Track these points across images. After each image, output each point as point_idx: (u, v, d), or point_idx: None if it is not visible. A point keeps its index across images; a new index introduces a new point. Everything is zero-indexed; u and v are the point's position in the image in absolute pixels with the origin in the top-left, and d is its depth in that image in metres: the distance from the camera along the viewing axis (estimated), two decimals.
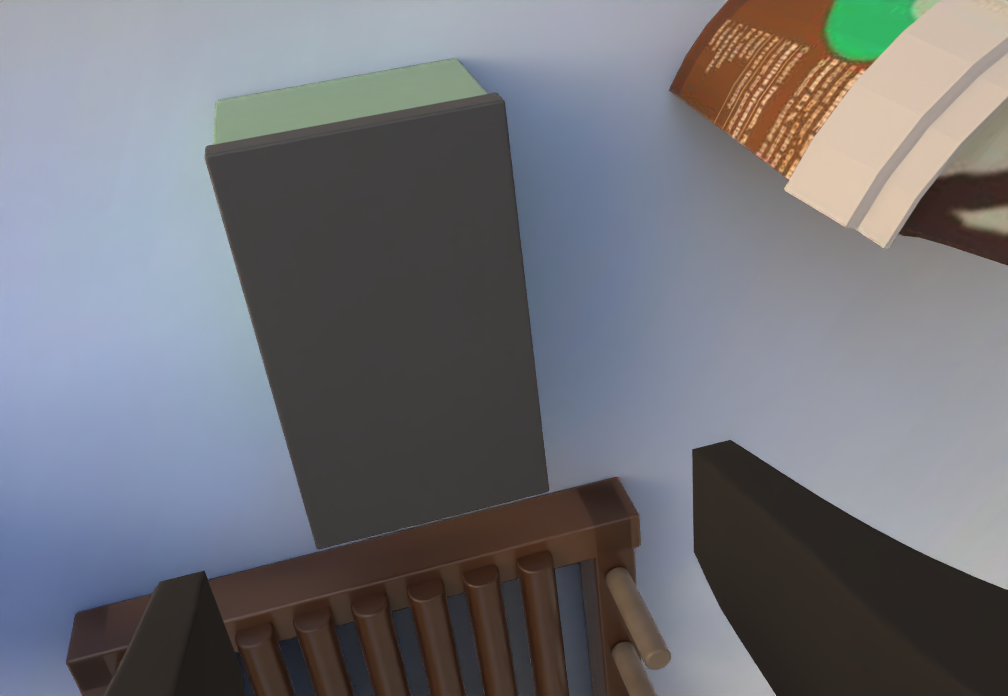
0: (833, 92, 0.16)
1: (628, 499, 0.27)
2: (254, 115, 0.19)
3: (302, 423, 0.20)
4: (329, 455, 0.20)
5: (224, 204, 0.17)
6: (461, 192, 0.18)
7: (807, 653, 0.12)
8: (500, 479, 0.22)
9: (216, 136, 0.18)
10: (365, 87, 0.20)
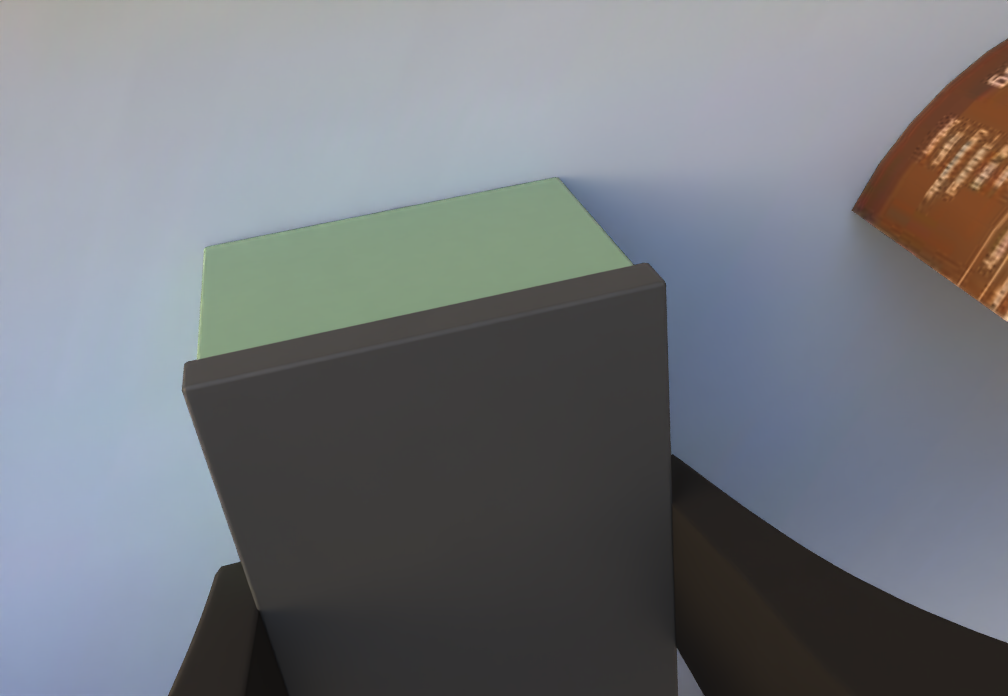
0: None
1: None
2: (263, 286, 0.12)
3: None
4: None
5: (215, 456, 0.10)
6: (590, 416, 0.11)
7: (739, 672, 0.12)
8: None
9: (203, 332, 0.11)
10: (429, 232, 0.13)
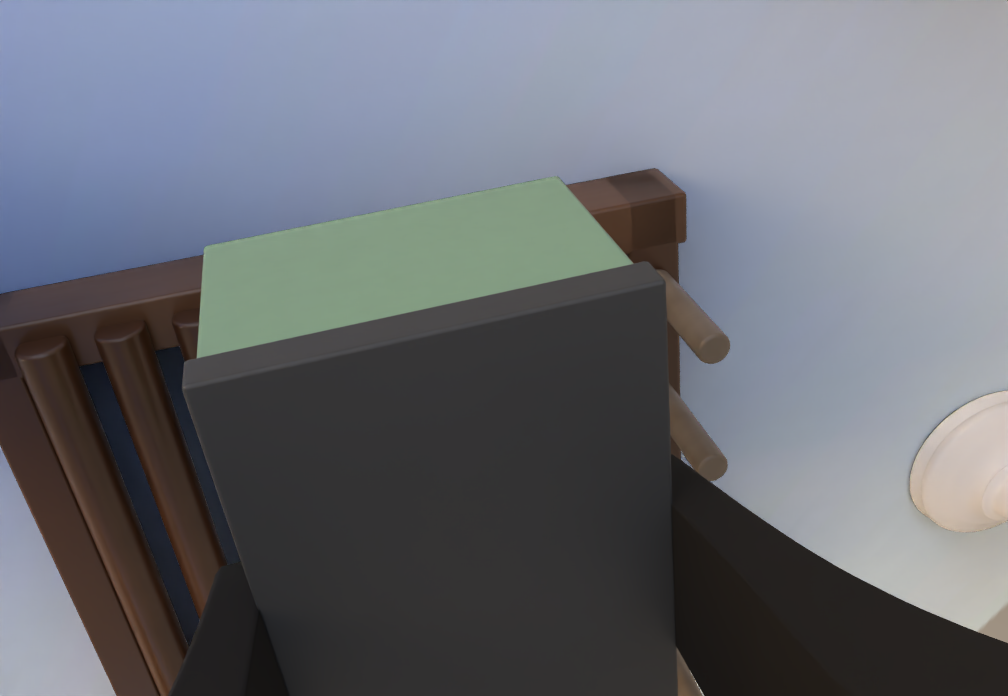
0: None
1: (671, 182, 0.21)
2: (262, 286, 0.12)
3: None
4: None
5: (215, 455, 0.10)
6: (589, 415, 0.11)
7: (739, 673, 0.12)
8: None
9: (202, 331, 0.11)
10: (429, 231, 0.13)
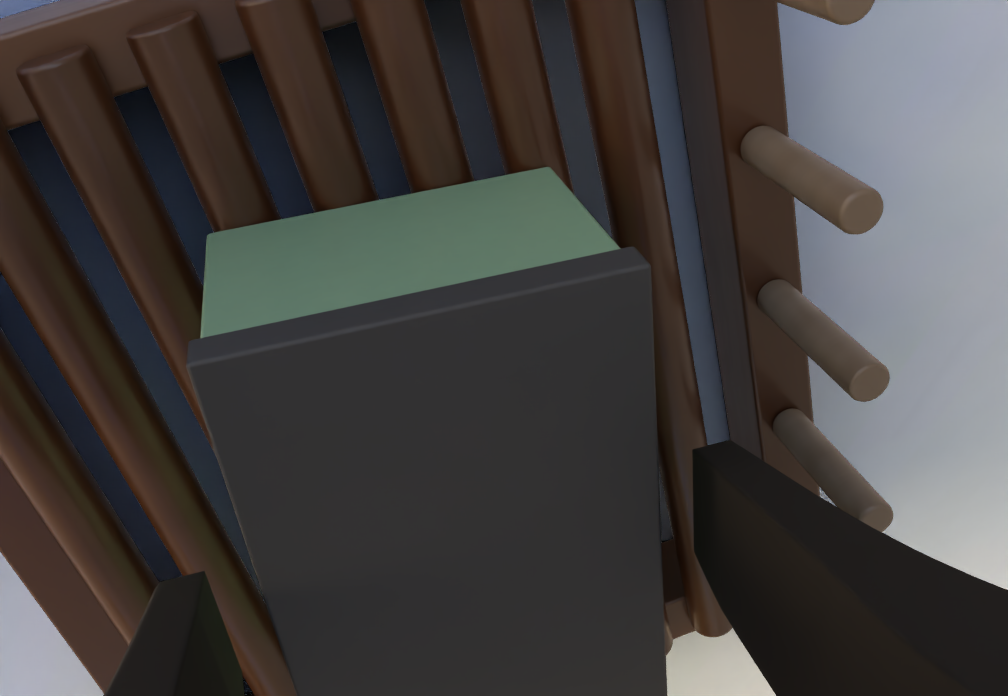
0: None
1: None
2: (263, 271, 0.13)
3: None
4: None
5: (217, 431, 0.11)
6: (579, 394, 0.12)
7: (807, 653, 0.12)
8: None
9: (206, 313, 0.12)
10: (425, 219, 0.13)
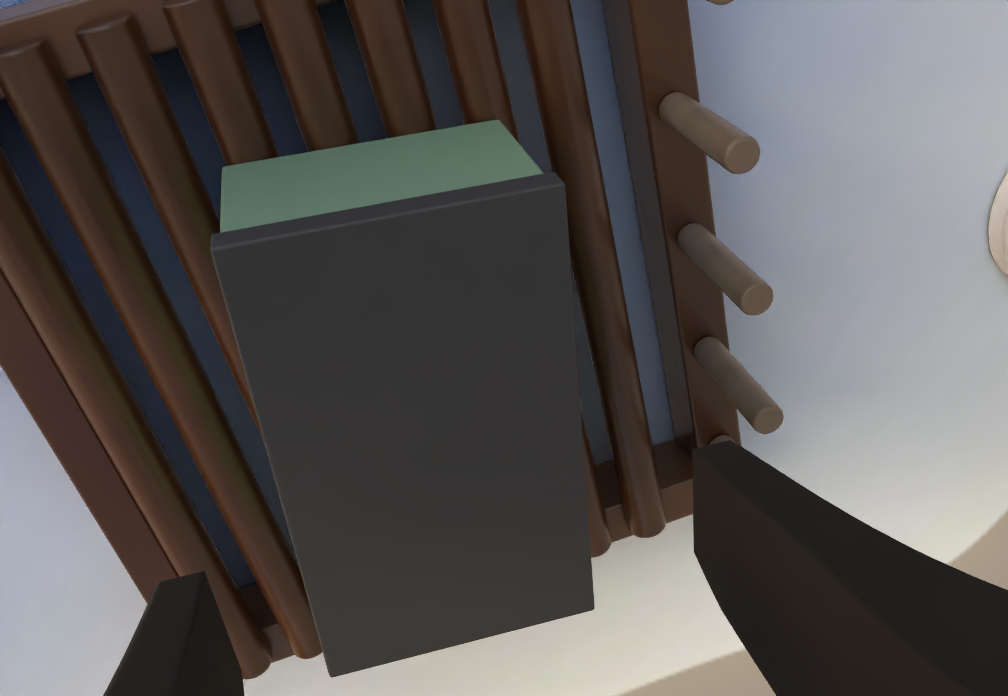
0: None
1: None
2: (267, 191, 0.16)
3: (317, 543, 0.17)
4: (347, 577, 0.17)
5: (232, 303, 0.14)
6: (511, 286, 0.15)
7: (807, 653, 0.12)
8: (540, 598, 0.19)
9: (223, 218, 0.15)
10: (396, 156, 0.17)
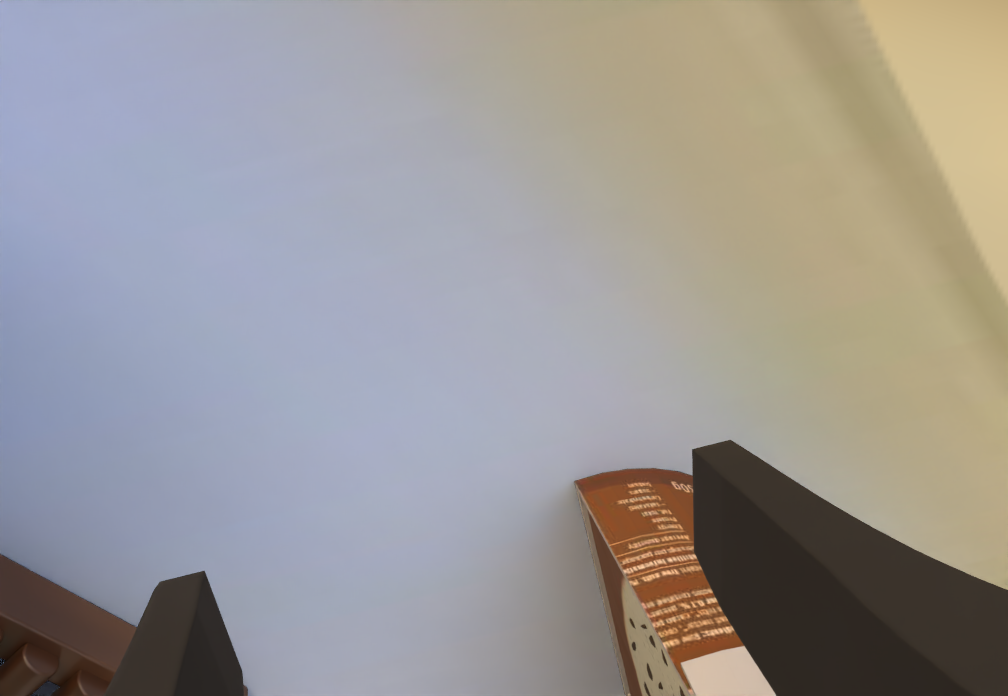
0: (722, 619, 0.21)
1: None
2: None
3: None
4: None
5: None
6: None
7: (807, 653, 0.12)
8: None
9: None
10: None
